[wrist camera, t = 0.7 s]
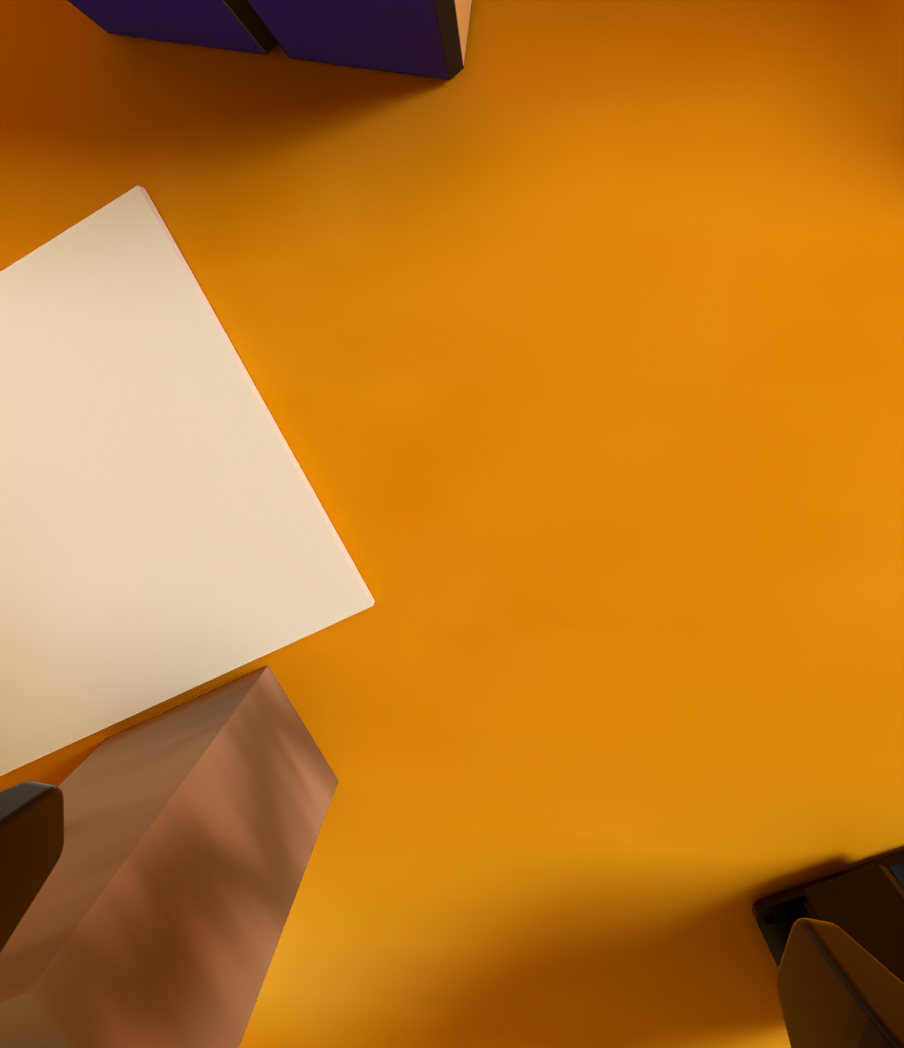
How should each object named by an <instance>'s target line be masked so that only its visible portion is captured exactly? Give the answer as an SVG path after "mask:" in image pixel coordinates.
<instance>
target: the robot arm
mask: <svg viewBox="0 0 904 1048" xmlns="http://www.w3.org/2000/svg"><path fill="white" fill-rule="evenodd" d="M63 846H64V797H63V792H62V790H61V789H60V788H59V787H57V786H55V785H50V784H45V783H39V782H33V781H28V782H23V783H20V784H18V785H15V786H13V787H11V788H8V789H6V790H3V791H1V792H0V953H1V951H2V950H3V948H4V947H5V945H6V943H7V942H8V940H9V939H10V937H11V936H12V934H13V932H14V931H15V929H16V928H17V926H18V924H19V923H20V921H21V920H22V918H23V916H24V915H25V913H26V912H27V910H28V909H29V907H30V905H31V904H32V902H33V901H34V899H35V897H36V896H37V894H38V893H39V891H40V889H41V888H42V886H43V885H44V883H45V882H46V880H47V878H48V877H49V875H50V874H51V872H52V870H53V869H54V867H55V866H56V864H57V862H58V860H59V858H60V856H61V853H62V850H63ZM752 911H753V914H754V917H755V919H756V921H757V923H758V926H759V928H760V930H761V932H762V934H763V936H764V938H765V940H766V942H767V944H768V947H769V949H770V951H771V953H772V955H773V957H774V959H775V961H776V963H777V965H778V968H779V969H778V974H777V989H778V995H779V1000H780V1004H781V1008H782V1012H783V1016H784V1020H785V1024H786V1028H787V1032H788V1036H789V1041H790V1045H791V1048H904V852H902V853H899V854H896V855H893V856H890V857H887V858H884V859H881V860H877V861H874V862H871V863H868V864H865V865H862V866H859V867H856V868H853V869H850V870H847V871H844V872H841V873H838V874H835V875H832V876H829V877H826V878H823V879H820V880H817V881H814V882H811V883H808V884H805V885H801V886H798V887H795V888H792V889H789V890H786V891H783V892H780V893H777V894H774V895H771V896H768V897H765V898H762V899H760V900H758V901H757V902H756V903H755V904H754V905H753V908H752ZM768 913H771V914H770V915H766V914H768Z"/></svg>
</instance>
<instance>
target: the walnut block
mask: <svg viewBox="0 0 904 1048" xmlns="http://www.w3.org/2000/svg"><path fill="white" fill-rule="evenodd" d="M337 783H338V779H337V778H336V776H335V775H334V773H333V771H332V770H331V768H330V766H329V765H328V763H327V761H326V760H325V758H324V756H323V755H322V753H321V751H320V750H319V748H318V747H317V745H316V743H315V742H314V740H313V738H312V737H311V735H310V733H309V732H308V730H307V728H306V727H305V725H304V724H303V722H302V720H301V719H300V717H299V715H298V714H297V712H296V710H295V709H294V707H293V705H292V704H291V702H290V701H289V699H288V697H287V696H286V694H285V692H284V691H283V689H282V687H281V686H280V684H279V682H278V681H277V679H276V677H275V676H274V674H273V673H272V671H271V669H270V668H269V666H266V667H263V668H261V669H259V670H257V671H255V672H252V673H250V674H248V675H246V676H244V677H241V678H239V679H237V680H235V681H233V682H230V683H228V684H226V685H224V686H222V687H219V688H217V689H215V690H213V691H211V692H208V693H206V694H204V695H202V696H199V697H197V698H195V699H193V700H191V701H188V702H186V703H184V704H182V705H180V706H177V707H175V708H173V709H171V710H169V711H166V712H164V713H162V714H160V715H158V716H155V717H153V718H151V719H149V720H147V721H144V722H142V723H140V724H138V725H136V726H133V727H131V728H129V729H127V730H124V731H122V732H120V733H118V734H116V735H113V736H111V737H109V738H107V739H105V740H104V741H103V742H102V743H101V744H100V745H99V746H98V747H97V748H96V749H95V750H94V751H93V752H92V753H91V754H90V755H89V756H88V757H87V758H86V759H85V760H84V761H83V762H82V763H81V764H80V765H79V766H78V767H77V768H76V769H75V770H74V771H73V772H72V773H71V774H70V775H69V776H68V777H67V778H66V779H65V780H64V781H63V782H62V783H61V784H60V785H59V786H58V787H59V788H60V789H61V790H62V792H63V797H64V846H63V850H62V853H61V856H60V858H59V860H58V862H57V864H56V866H55V867H54V869H53V870H52V872H51V874H50V875H49V877H48V878H47V880H46V882H45V883H44V885H43V886H42V888H41V889H40V891H39V893H38V894H37V896H36V897H35V899H34V901H33V902H32V904H31V905H30V907H29V909H28V910H27V912H26V913H25V915H24V916H23V918H22V920H21V921H20V923H19V924H18V926H17V928H16V929H15V931H14V932H13V934H12V936H11V937H10V939H9V940H8V942H7V943H6V945H5V947H4V948H3V950H2V951H1V953H0V1048H239V1046H240V1043H241V1040H242V1038H243V1035H244V1032H245V1030H246V1027H247V1024H248V1022H249V1019H250V1016H251V1014H252V1011H253V1008H254V1006H255V1003H256V1000H257V997H258V995H259V992H260V989H261V987H262V984H263V981H264V979H265V976H266V973H267V971H268V968H269V965H270V963H271V960H272V957H273V955H274V952H275V949H276V947H277V944H278V941H279V939H280V936H281V933H282V931H283V928H284V925H285V923H286V920H287V917H288V915H289V912H290V909H291V907H292V904H293V901H294V899H295V896H296V893H297V890H298V888H299V885H300V882H301V880H302V877H303V874H304V872H305V869H306V866H307V864H308V861H309V858H310V856H311V853H312V850H313V848H314V845H315V842H316V840H317V837H318V834H319V832H320V829H321V826H322V824H323V821H324V818H325V816H326V813H327V810H328V808H329V805H330V802H331V800H332V797H333V794H334V792H335V789H336V786H337Z"/></svg>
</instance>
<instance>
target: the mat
mask: <svg viewBox="0 0 904 1048" xmlns="http://www.w3.org/2000/svg"><path fill="white" fill-rule="evenodd" d="M374 602H375V600H374V599H373V597H372V595H371V593H370V591H369V590H368V588H367V586H366V584H365V582H364V581H363V579H362V577H361V575H360V573H359V572H358V570H357V568H356V566H355V564H354V563H353V561H352V559H351V557H350V556H349V554H348V552H347V550H346V548H345V547H344V545H343V543H342V541H341V539H340V538H339V536H338V534H337V532H336V530H335V529H334V527H333V525H332V523H331V521H330V520H329V518H328V516H327V514H326V512H325V511H324V509H323V507H322V505H321V503H320V502H319V500H318V498H317V496H316V494H315V493H314V491H313V489H312V487H311V485H310V484H309V482H308V480H307V478H306V477H305V475H304V473H303V471H302V469H301V468H300V466H299V464H298V462H297V460H296V459H295V457H294V455H293V453H292V451H291V450H290V448H289V446H288V444H287V442H286V441H285V439H284V437H283V435H282V433H281V432H280V430H279V428H278V426H277V424H276V423H275V421H274V419H273V417H272V415H271V414H270V412H269V410H268V408H267V406H266V405H265V403H264V401H263V399H262V397H261V396H260V394H259V392H258V390H257V389H256V387H255V385H254V383H253V381H252V380H251V378H250V376H249V374H248V372H247V371H246V369H245V367H244V365H243V363H242V362H241V360H240V358H239V356H238V354H237V353H236V351H235V349H234V347H233V345H232V344H231V342H230V340H229V338H228V336H227V335H226V333H225V331H224V329H223V327H222V326H221V324H220V322H219V320H218V318H217V317H216V315H215V313H214V311H213V310H212V308H211V306H210V304H209V302H208V301H207V299H206V297H205V295H204V293H203V292H202V290H201V288H200V286H199V284H198V283H197V281H196V279H195V277H194V275H193V274H192V272H191V270H190V268H189V266H188V265H187V263H186V261H185V259H184V257H183V256H182V254H181V252H180V250H179V248H178V247H177V245H176V243H175V241H174V239H173V238H172V236H171V234H170V232H169V231H168V229H167V227H166V225H165V223H164V222H163V220H162V218H161V216H160V214H159V213H158V211H157V209H156V207H155V205H154V204H153V202H152V200H151V198H150V196H149V195H148V193H147V191H146V189H145V188H143V187H141V186H138V185H137V186H136V187H134V188H133V189H131V190H129V191H128V192H126V193H125V194H123V195H121V196H120V197H118V198H117V199H115V200H113V201H112V202H110V203H109V204H107V205H106V206H104V207H102V208H101V209H99V210H98V211H96V212H94V213H93V214H91V215H90V216H88V217H86V218H85V219H83V220H82V221H80V222H79V223H77V224H75V225H74V226H72V227H71V228H69V229H67V230H66V231H64V232H63V233H61V234H60V235H58V236H56V237H55V238H53V239H52V240H50V241H48V242H47V243H45V244H44V245H42V246H40V247H39V248H37V249H36V250H34V251H33V252H31V253H29V254H28V255H26V256H25V257H23V258H21V259H20V260H18V261H17V262H15V263H14V264H12V265H10V266H9V267H7V268H6V269H4V270H2V271H1V272H0V776H2V775H4V774H6V773H8V772H10V771H13V770H15V769H17V768H19V767H21V766H23V765H26V764H28V763H30V762H32V761H34V760H37V759H39V758H41V757H43V756H45V755H48V754H50V753H52V752H54V751H56V750H58V749H61V748H63V747H65V746H67V745H69V744H72V743H74V742H76V741H78V740H80V739H83V738H85V737H87V736H89V735H91V734H93V733H96V732H98V731H100V730H102V729H104V728H107V727H109V726H111V725H113V724H115V723H118V722H120V721H122V720H124V719H126V718H128V717H131V716H133V715H135V714H137V713H139V712H142V711H144V710H146V709H148V708H150V707H153V706H155V705H157V704H159V703H161V702H164V701H166V700H168V699H170V698H172V697H174V696H177V695H179V694H181V693H183V692H185V691H188V690H190V689H192V688H194V687H196V686H199V685H201V684H203V683H205V682H207V681H209V680H212V679H214V678H216V677H218V676H220V675H223V674H225V673H227V672H229V671H231V670H234V669H236V668H238V667H240V666H242V665H244V664H247V663H249V662H251V661H253V660H255V659H258V658H260V657H262V656H264V655H266V654H269V653H271V652H273V651H275V650H277V649H279V648H282V647H284V646H286V645H288V644H290V643H293V642H295V641H297V640H299V639H301V638H304V637H306V636H308V635H310V634H312V633H314V632H317V631H319V630H321V629H323V628H325V627H328V626H330V625H332V624H334V623H336V622H339V621H341V620H343V619H345V618H347V617H350V616H352V615H354V614H356V613H358V612H360V611H363V610H365V609H367V608H369V607H371V606H373V604H374Z"/></svg>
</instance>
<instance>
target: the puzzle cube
mask: <svg viewBox="0 0 904 1048" xmlns="http://www.w3.org/2000/svg"><path fill="white" fill-rule="evenodd" d="M68 1H69V2H70V3H72V4H73V5H74V6H75V7H77V8H78V9H79V10H80V11H82V12H83V13H84V14H85V15H87V16H88V17H89V18H90V19H92V20H93V21H94V22H95V23H97V24H98V25H99V26H100V27H102V28H103V29H104V30H105V31H107V32H108V33H112V34H119V35H126V36H133V37H141V38H148V39H155V40H163V41H170V42H177V43H185V44H192V45H199V46H207V47H214V48H221V49H228V50H236V51H243V52H250V53H258V54H265V55H267V54H268V53H269V52H270V51H271V50H272V49H273V48H274V47H275V46H276V45H277V44H278V43H279V44H280V45H281V47H282V48H283V50H284V51H285V52H286V54H287V55H288V56H289V58H294V59H301V60H308V61H315V62H323V63H330V64H337V65H345V66H352V67H359V68H367V69H374V70H381V71H389V72H396V73H403V74H410V75H418V76H425V77H432V78H440V79H447V80H450V79H452V78H453V77H454V76H455V75H456V74H457V73H458V72H460V71H461V70H462V69H463V68H464V60H465V53H466V45H467V37H468V29H469V22H470V14H471V6H472V0H68Z"/></svg>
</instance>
